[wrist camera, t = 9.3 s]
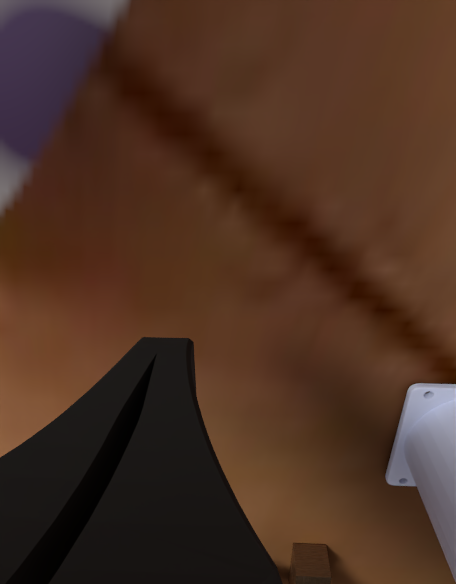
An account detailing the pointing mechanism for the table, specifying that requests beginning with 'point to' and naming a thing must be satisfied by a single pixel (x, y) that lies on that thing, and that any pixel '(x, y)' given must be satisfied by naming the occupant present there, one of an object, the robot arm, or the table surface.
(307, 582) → the shaft
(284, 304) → the table surface
